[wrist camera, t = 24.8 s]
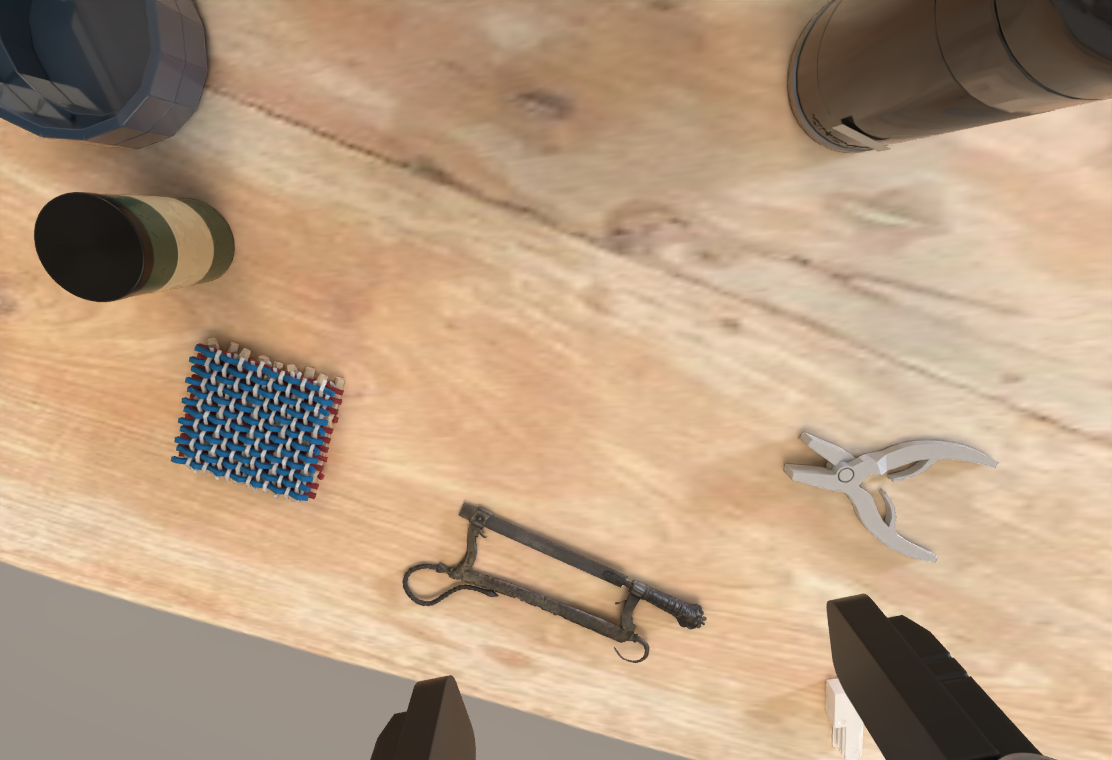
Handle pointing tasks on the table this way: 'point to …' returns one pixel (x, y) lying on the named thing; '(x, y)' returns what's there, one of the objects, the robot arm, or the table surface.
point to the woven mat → (257, 421)
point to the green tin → (130, 244)
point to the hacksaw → (482, 518)
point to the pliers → (852, 471)
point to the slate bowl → (101, 69)
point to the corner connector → (843, 721)
